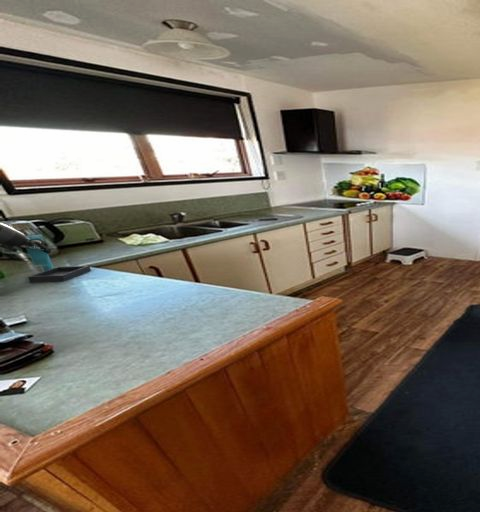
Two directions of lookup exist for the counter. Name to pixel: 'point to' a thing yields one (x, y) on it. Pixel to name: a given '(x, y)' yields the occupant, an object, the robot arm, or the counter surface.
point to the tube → (39, 256)
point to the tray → (59, 274)
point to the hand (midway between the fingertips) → (40, 252)
